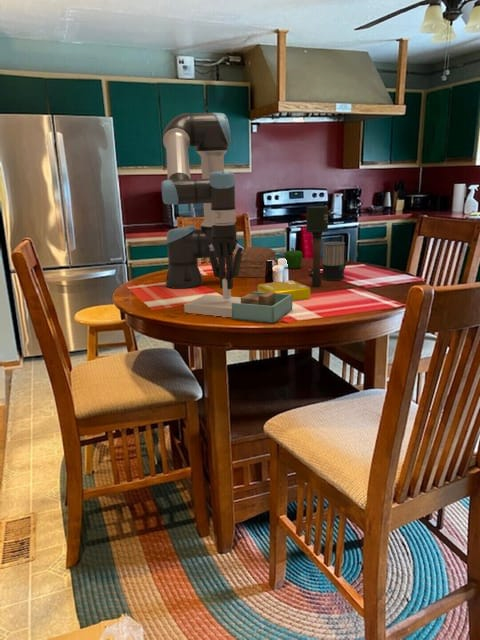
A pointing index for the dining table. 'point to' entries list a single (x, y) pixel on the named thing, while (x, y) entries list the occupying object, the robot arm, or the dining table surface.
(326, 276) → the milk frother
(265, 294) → the front tile
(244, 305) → the tray
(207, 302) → the board
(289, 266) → the bell pepper
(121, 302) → the dining table surface
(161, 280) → the dining table surface
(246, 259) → the bread
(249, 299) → the rear tile
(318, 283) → the stick grenade
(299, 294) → the element tile
